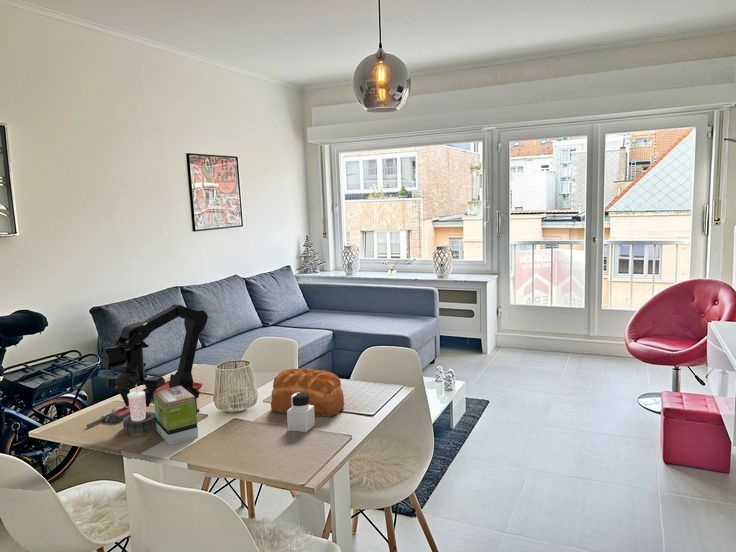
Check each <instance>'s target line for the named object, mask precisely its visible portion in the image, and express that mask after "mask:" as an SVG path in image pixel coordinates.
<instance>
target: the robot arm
mask: <svg viewBox="0 0 736 552" xmlns="http://www.w3.org/2000/svg"><path fill="white" fill-rule="evenodd" d="M208 316H209V315H208V313H207V312H206V311H205V310H203V309H198V308H197V309H195V308H189V307H186V306H184V305H182V304H177V303H176V304H172V305H171V306H169V307H168V308H166V309H164V310H161V312H159V313H156V314H155V315H153V316H150V317H149V318H147V319H145V320H143V321H139V322H133V323H130V324H128V325H125V326H124V327H122V329H121V332H120V335H119V337H118V339H117V340H116V342H115V344H114V346H111V347H110V346H109V347H103V349H102V353H101V356H100V363H101V365H102V367H103V368H104V369H107V370H108V369H111V368H116V367H119V366H120V367H121V366H123V365H125V366H123V367H122V373H121V374H120V375H119V374H117V375H114V376H112V377H109V378H108V380H107V381H106V386H107V388H112V389H113V390H115V391H116V392H117V393H119V395H120V396H121V398H122V400H123V402H124V405H126V406H128V405H129V399H128V396H127V395H128V394H129V393H131V392H130V391H131V389H132V388H133V386H136V385H137V386H144V387H145V388H144V389H142V390H143V391H144V392H145V400H146V408H148V407H149V406H150V404H151V403H152V399H153V398H152V397H153V391H155V390H156V389H157V388H159V387H161V386H163V385H165V382H166V379H165V378H164V377H163V376H152V377H150V378H148V376H147V375H148V374H145V367H147V362H145V361H144V349H146V348H149V347H150V345H149V344H147V343H146V342H145V340H146V339H147V338H148V337H149V336H150V335H151V333H152V332H153V331H155V330H157V329H158V328H159V329H160V328H161V327H163V326H164V325H166V324H168V323H169V322H172V321H173V320H175V319H177V318H181V319H184V323H183V324H184V329H185V336H184V340H183V346H182V350H181V355H180V358H179V363H178V368H177V370H176V372H175V373H174V374H173V373H171V374H170V375H169V376H170V377H169V380H170V382H169V384H168V385H169V388H172V387H177V386H182V387H183V388H185V389H186V390H187V391H188V392H190V393H191V394H192V395H194V396H195V402H196V414H197V413H198V412H200V409H199V408H198V403H197V402H198V401H197V399H199V395H200V391H199V390H198V391H197V390H196V389H194V388H193V382H194V378H193V375H192V374H193V373H192V371H193V365H194V362H195V357H196V352H197V347H198V343H199V340H200V339H199V338H200V335H201V333H202V332H203V330H204V329H205V327H206V326H207V323H208V319H209V317H208Z"/></svg>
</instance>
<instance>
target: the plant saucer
mask: <svg viewBox="0 0 736 552" xmlns="http://www.w3.org/2000/svg"><path fill="white" fill-rule="evenodd" d="M169 382H170V379H169V380H166V381H165V385H163V386H161V387H159V388H157V389H156V390H155V391H159V390H163V389H168V388H169V385H168V384H169ZM203 385H204V383H200V382H195V381H193V388H194V389H196V390H197V391H198V392H199V391H200V389H201V388H202V387H203ZM141 391H143V389H141ZM152 399H154V395H153V397H152Z"/></svg>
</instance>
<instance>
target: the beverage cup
mask: <svg viewBox="0 0 736 552" xmlns="http://www.w3.org/2000/svg"><path fill="white" fill-rule="evenodd" d="M127 396H128V399H129V406H130V414H131V420H132V421H141V420H144V419H145V418H146V412H147V409H146V408H147V407H146V400H145V392H144V391H142V390H138V385H135V391H131V392H130V393H129V394H128V395H127Z"/></svg>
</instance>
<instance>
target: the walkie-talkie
mask: <svg viewBox="0 0 736 552" xmlns="http://www.w3.org/2000/svg"><path fill="white" fill-rule="evenodd" d="M129 415H131V414H130V406H129V405H128V406H126V404H124V406H118V407H116V408H114V409H112V411H109V412H107V413H105V414H101V417H100V418H99V419H96V420H94V421H92V422H90V423H89V424H86V427H87V428H90V427H92V426H94V425H97V424H99V423H101V422H103V421H104V420H105V421H104V422H106V423H107V422H108V421H109V422H108V423H117V422H119V423H120V422H121V423H123V422H122V421H123V418H125V417H126V416H129ZM121 423H120V424H121Z"/></svg>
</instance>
